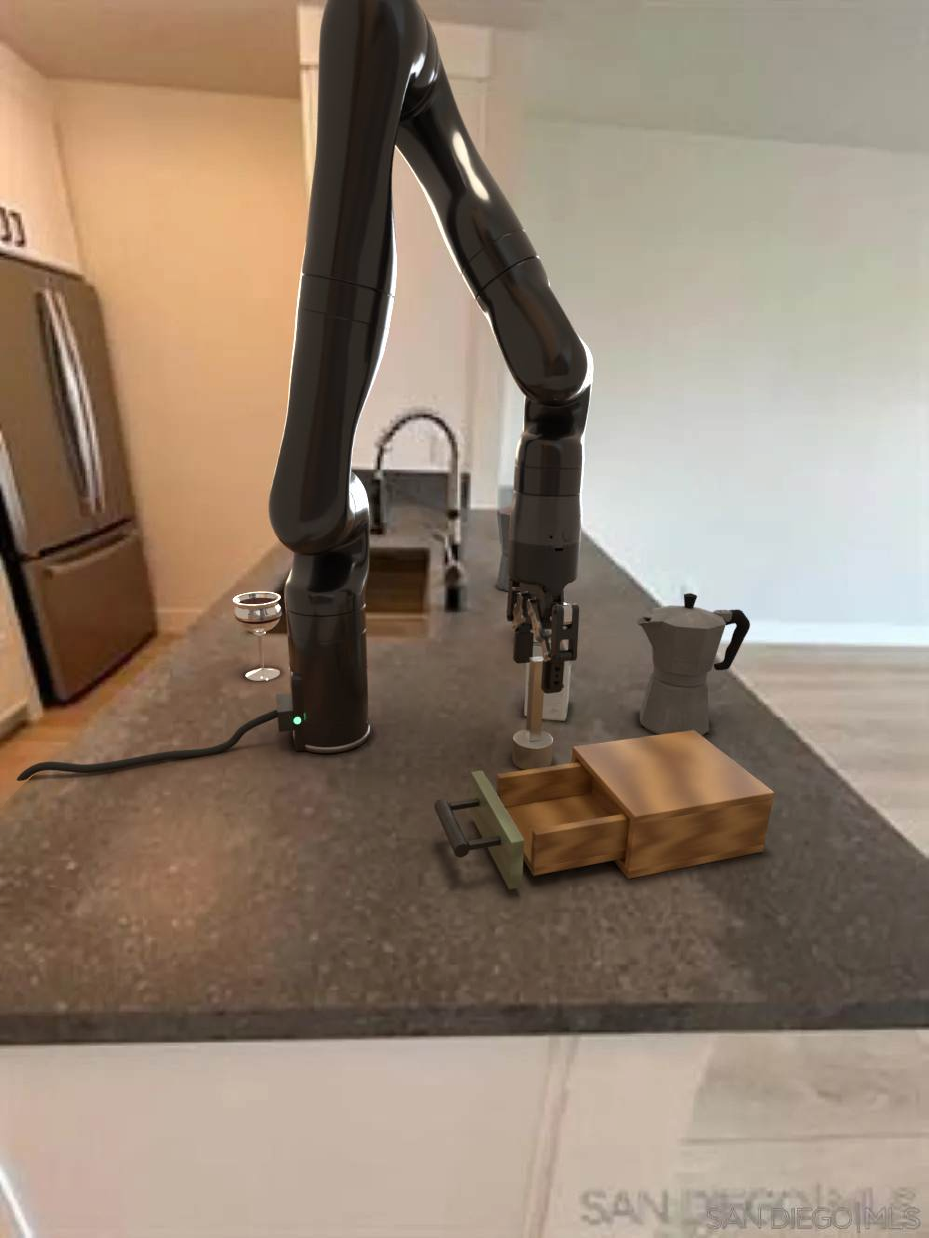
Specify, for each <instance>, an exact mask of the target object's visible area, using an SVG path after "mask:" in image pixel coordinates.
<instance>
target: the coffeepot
mask: <svg viewBox="0 0 929 1238" xmlns="http://www.w3.org/2000/svg"><path fill="white" fill-rule="evenodd" d="M697 599H698V595H697V594H695V593H692V592H687V593H684V594H683V604H684V605H672V604H671V605H665V606H661V607H656V608H652V609H650V614H645V615H642V617H639V618H638V619H637V621H636V624H637V625H638V626H640V627H641V628H642V630H643V631H644V633H645V635H646V637H647V639H648V641H649V642H650V645H651V652H652V653H651V655H652V656H651V657H652V664H653V670H652V673H651V674H650V676H649V680H648V683H647V687H646V690H645V693H644V697H643V700H642V703H641V706H640V709H639V721H640V725H641V726H643V727H644V728H645V729H646V730H648V731H649V732H651V733H653V734H655V735H661V734H669V733H676V732H683V731H690V730H694V731H696V732H697V733H698V734H700V735H701V736H702V737H704V735H705V734H706V733H709V732H710V717H709V716H710V715H709V689H708V688H709V687H708V681H707V679H708V673H709V672H711V671H712V669H713V668H714V670H715V671H725V670H729V669H730V668H731V666H732V664H733V662H734V660H735V658H736V657H737V655H738V652H739V651H740V648H741V645H742V644H743V642H744V640H745V638H746V636H747V634H748V633H749V630H750V627H751V623H750V619H748V616H746V614H745V613H744V611H743V610H741V609H739V608H736V609H716V610H714V611H710V610H707V609H704V608H702V607H701V608H700V607H698V606H695V604H696V601H697ZM734 624H735V628H734V630H733V633H732V635H731V639H730V642H729V644H728V645H727V647H726V649H725V652H724V658H723V660H722V661H720V662H717V663H714V662H715V659H716V656H717V653H718V651H719V648H720V647H719V646H720V644H721V641H722V638H723V636H724V632H725V629H726V626H729V625H734Z"/></svg>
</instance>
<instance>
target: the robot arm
mask: <svg viewBox="0 0 929 1238" xmlns="http://www.w3.org/2000/svg"><path fill="white" fill-rule="evenodd" d="M318 40H319V41H318V43H319V44H318V71H317V72H318V74H317V75H318V77H317V78H318V79H317V80H318V81H317V82H318V83H317V115H316V116H317V117H316V119H317V120H316V142H315V143H316V144H315V156H314V158H315V159H314V164H313V165H314V166H313V167H314V168H313V175H312V182H311V189H310V197H309V206H308V214H307V215H308V216H307V224H306V233H305V243H304V250H303V257H302V262H301V270H300V277H299V279H300V280H299V285H298V286H299V287H298V295H297V304H296V312H295V313H296V314H295V325H294V326H295V327H294V336H293V337H294V338H293V346H292V347H293V348H292V355H291V364H290V367H291V368H290V373H289V374H290V375H289V386H288V400H287V408H286V409H287V410H286V416H285V423H284V427H283V433H282V437H281V441H280V447H279V451H278V455H277V460H276V465H275V469H274V473H273V478H272V481H271V486H270V491H269V495H268V496H269V497H268V517H269V521H270V525H271V528H272V530H273V533H274V534H275V536H276V538H277V539H278V541H279V542H280V543H281V544H282V545H283V546H284V547H285V549H287V550H289V551H291V552H292V553H293V559H292V564H291V567H290V571H289V574H288V577H287V579H286V581H285V584H284V588H283V589H284V591H283V592H284V593H283V594H284V606H285V620H286V621H285V622H286V635H287V647H288V648H287V649H288V650H287V651H288V677H289V689H290V690H289V691H290V692H287V693H277V694H275V699H276V709H274V710H271V711H269V712H266V713H264V714H262V715H260V716H257V717H255V718H253V719H251V720H249V721H247V722H246V723H244V724H243V725H241V726H240V727H239V728H237V730H236V731H235V732H234V733H233V735H232V736H231V737H230V738H229V739H228V740H226V741H224V742H222V743H220V744H217V745H214V746H210V747H204V748H198V749H197V748H195V749H177V750H168V751H161V752H156V753H149V754H145V755H140V756H134V757H129V758H123V759H118V760H112V761H106V762H98V763H97V762H96V763H89V764H88V763H87V764H86V763H85V764H84V763H70V762H63V761H42V762H37V763H35V764H33V765H30V766H29V767H27V768H26V769H24V770H23V771H22V772H21V773H20V774H19V775H18V776H17V778H16V781H18V782H22V781H27V780H28V779H29V778H31V777H32V776H34V774H37V773H40V772H44V771H56V772H57V771H58V772H66V773H68V772H69V773H77V774H89V773H90V774H92V773H98V772H107V771H114V770H118V769H124V768H130V767H134V766H135V767H136V766H140V765H145V764H150V763H156V762H161V761H167V760H176V759H189V758H191V759H192V758H199V757H206V756H213V755H216V754H220V753H223V752H225V751H228V750H230V749H231V748H233V747H234V746H235V745H236V744H237V743H238V742H239V741H240V740H241V738H242V737H243V736H244V735H245V734H246V733H248V732H249V731H251V730H252V729H254V728H256V727H258V726H261V725H263V724H264V723H267V722H270V721H272V720H274V719H277V726H278V733H285V732H292V736H293V737H292V739H293V742H294V748H295V751H296V752H302V751H307V752H311V753H316V754H335V753H336V754H337V753H343V752H347V751H349V750H352V749H355V748H357V747H360V746H361V745H362V744H364V743H365V742H366V741H367V740H368V739H369V737H370V734H371V725H370V714H369V681H368V680H369V678H368V677H369V675H368V645H367V643H368V642H367V607H366V606H367V605H366V589H367V585H368V580H369V576H370V575H369V574H370V555H371V554H370V550H371V549H370V545H371V543H370V541H371V540H370V538H371V536H370V532H371V531H370V530H371V527H370V526H371V525H370V523H371V521H370V506H369V499H368V494H367V491H366V488H365V486H364V484H363V482H362V481H361V479H360V478H359V477H358V475H356V474H355V472H354V471H353V470H352V464H353V463H352V462H353V453H354V446H355V440H356V433H357V429H358V426H359V422H360V419H361V416H362V413H363V411H364V408H365V405H366V403H367V401H368V397H369V396H370V393H371V390H372V389H373V388H372V387H373V385H374V383H375V381H376V378H377V376H378V373H379V370H380V368H381V364H382V361H383V359H384V354H385V352H386V347H387V342H388V338H389V334H390V327H391V320H392V314H393V307H394V301H395V296H396V288H397V286H396V285H397V271H398V269H397V267H398V266H397V264H398V263H397V261H398V260H397V259H398V258H397V238H396V223H395V212H394V200H393V199H394V196H393V167H394V158H395V157H394V156H395V149H396V150H397V151H398V152H399V153H400V155H401V156H402V158H403V159H404V160H405V162H406V163H407V165H408V167H409V168H410V170H411V171H412V173H413V175H414V177H415V178H416V180H417V182H418V183H419V186H420V187H421V189H422V191H423V193H424V195H425V197H426V199H427V202H428V204H429V206H430V209H431V212H432V214H433V216H434V218H435V221H436V224H437V226H438V228H439V231H440V234H441V236H442V238H443V241H444V243H445V245H446V247H447V250H448V252H449V254H450V256H451V258H452V260H453V262H454V264H455V266H456V268H457V270H458V272H459V274H460V276H461V277H462V279H463V281H464V282H465V284H466V286H467V289H468V290H469V292H470V294H471V295H472V297H473V299H474V301H475V302H476V304H477V306H478V308H479V309H480V311H481V312H482V314H483V315H484V317H485V318H486V320H487V322H488V324H489V326H490V328H491V331H492V335H493V336H494V339H495V341H496V344H497V346H498V348H499V351H500V353H501V356H502V358H503V361H504V362H505V365H506V366H507V370H508V371H509V373H510V375H511V377H512V379H513V380H514V382H515V384H516V386H517V388H519V390H520V392H521V393H522V394H523V395H524V397H523V398H524V399H523V418H522V430H521V434H520V436H519V438H518V440H517V442H516V443H517V444H516V448H515V453H514V472H513V492H512V499H511V500H512V501H511V505H510V506H511V511H510V527H509V551H508V575H509V587H508V591H507V604H506V605H507V606H506V620H507V621H508V622H510V623H511V630H512V632H513V633H514V634H513V648H512V649H513V653H512V659H513V661H514V662H515V664H517V665H519V664H526V663H529V662H530V657H533V641H534V635H535V639H536V640H537V641H538V642H540V643H541V648H542V653H543V658H544V659H543V664H542V680H541V689H542V690H543V692H544V693H546V694H549V693H558V692H560V691H561V690H562V688H563V675H564V662H565V661H571V662H575V661H577V659H578V643H579V623H580V607H579V605H578V604H577V603H566V598H565V587H567V586H568V585H569V584H572V583H574V582H575V581H576V580H577V579H578V576H579V567H580V566H579V565H580V554H581V553H580V552H581V541H582V540H581V539H582V526H583V501H582V498H583V497H582V495H583V494H582V492H583V482H584V481H583V480H584V467H585V433H586V428H587V423H588V416H589V409H590V403H591V394H592V387H593V376H594V361H593V355H592V354H591V351H590V349H589V347H588V346H587V344H586V343H585V342H584V341H583V340H582V338H581V337H580V336H579V334H578V333H577V331H576V330H575V328H574V326H573V324H572V322H571V321H570V319H569V318H568V316H567V314H566V313H565V311H564V309H563V308H562V306H561V303H560V302H559V300H558V298H557V297H556V295H555V293H554V292H553V290H552V288H551V286H550V280H549V277H548V275H547V271H546V269H545V266H544V265H543V263H542V261H541V259H540V257H539V255H538V253H537V251H536V249H535V247H534V245H533V243H532V241H531V240H530V237H529V236H528V234H527V231H525V228H524V227H523V224H522V223H521V221H520V219H519V218H518V216H517V214H516V212H515V211H514V208H513V207H512V205H511V203H510V202H509V200H508V199H507V197H506V195H505V194H504V192H503V190H502V189H501V188H500V185H499V184H498V183H497V181H496V179H495V178H494V176H493V175H492V173H491V171H490V170H489V169H488V167H487V165H486V163H485V162H484V160H483V159H482V156H481V155H480V153H479V151H478V149H477V147H476V145H475V143H474V141H473V140H472V139H473V138H471V135H470V132H469V131H468V129H467V126H466V124H465V121H464V120H463V117H462V114H461V112H460V109H459V106H458V104H457V101H456V99H455V97H454V93H453V89H452V87H451V84H450V81H449V78H448V75H447V72H446V69H445V66H444V63H443V60H442V57H441V53H440V50H439V49H440V48H439V45H438V40H437V36H436V34H435V32H434V30H433V27H432V25H431V23H430V21H429V20H428V18H427V15H426V14H425V12H424V9H423V7H422V5H421V3H420V2H419V0H326V2H325V5H324V7H323V13H322V18H321V22H320V30H319V39H318ZM549 629H551V631H545V630H549ZM530 630H534V633H533V632H532V631H530ZM549 640H551V649H550V644H549ZM566 640H568V647H567V642H566Z"/></svg>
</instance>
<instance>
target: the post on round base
mask: <svg viewBox="0 0 929 1238" xmlns="http://www.w3.org/2000/svg"><path fill="white" fill-rule="evenodd" d="M542 664H543V658H542V657H530V667H529V685H528V703H527V716H526V723H525V729H522V730H519V731H517V732H515V734H514V735H513V738H512V758H511V759H512V763H513V765H515V766H516V767H517V768H519V769H521V770H529V769H536V768H543V767H550V766H552V758H553V757H552V756H553V745H554V739H553V736H552V735H551V734H549V733H548V732H546V731H544V730H542V729H543V728H542V727H543V719H542V713H543V698H544V692H543V690H542V689H541V680H542Z"/></svg>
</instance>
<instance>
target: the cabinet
mask: <svg viewBox="0 0 929 1238" xmlns="http://www.w3.org/2000/svg"><path fill="white" fill-rule="evenodd" d="M577 762H581V764H582V765H583V766H584V767H585V768H586V769H587V770H588V772H589V773H590V774H591V775H592V776H593V777H594V778H595V780H596V781H597V782H598V783H599V784H600V785H601V786H602V788H603V789H604V790H605V791H606V792H607V793H608V794H609V796H610V797H611V798H612V799H613V800H614V801H615V802H616V804H617V805H618V806H619V807H620V808H621V809H622V810H623V812H624V813H625V814H626V815H627V816H628V817H629V818H630V824H629V833H628V841H627V850H626V858H623V859H618V860H613V862H614V863H615V865H616V866H617V867H618V868H619V869H620V871H621V872H622V874H623V875H624V876H625V877H626V879H628V880H630V879H634V878H635V879H636V878H639V877H645V876H650V875H654V874H659V873H664V872H665V873H666V872H669V871H673V870H674V871H675V870H678V869H679V870H680V869H684V868H689V867H694V866H699V865H703V864H708V863H709V864H710V863H713V862H718V861H723V860H728V859H729V860H730V859H734V858H738V857H743V856H747V855H752V854H753V855H754V854H759V853H762V852H764V848H765V842H766V837H767V833H768V827H769V822H770V817H771V812H772V806H773V801H774V797H775V792H774V791H773V790H772V789H770V788H769V787H768V786H767V785H765V783H763V782H762V781H761V780H759V779H758V778H756V777H755V776H754V775H753V774H751V773H750V772H748V771H747V770H746V769H745V768H744V767H742V766H741V765H740V764H739V763H737V762H736V761H735V760H734V759H732V758H731V757H729V756H728V755H727V754H725V753H724V752H723V751H722V750H721V749H719V748H718V747H717V746H715V745H714V744H712V743H711V742H710V741H709V740H708V739H706V738H705V737H704V736H701V735H700V734H698V733H697V732H696V731H694V730H690V731H683V732H676V733H669V734H661V735H658V734H655V735H648V736H641V737H634V738H626V739H619V740H611V741H605V742H603V741H602V742H598V743H597V742H596V743H590V744H583V745H574V746H572V752H571V763H577Z"/></svg>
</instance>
